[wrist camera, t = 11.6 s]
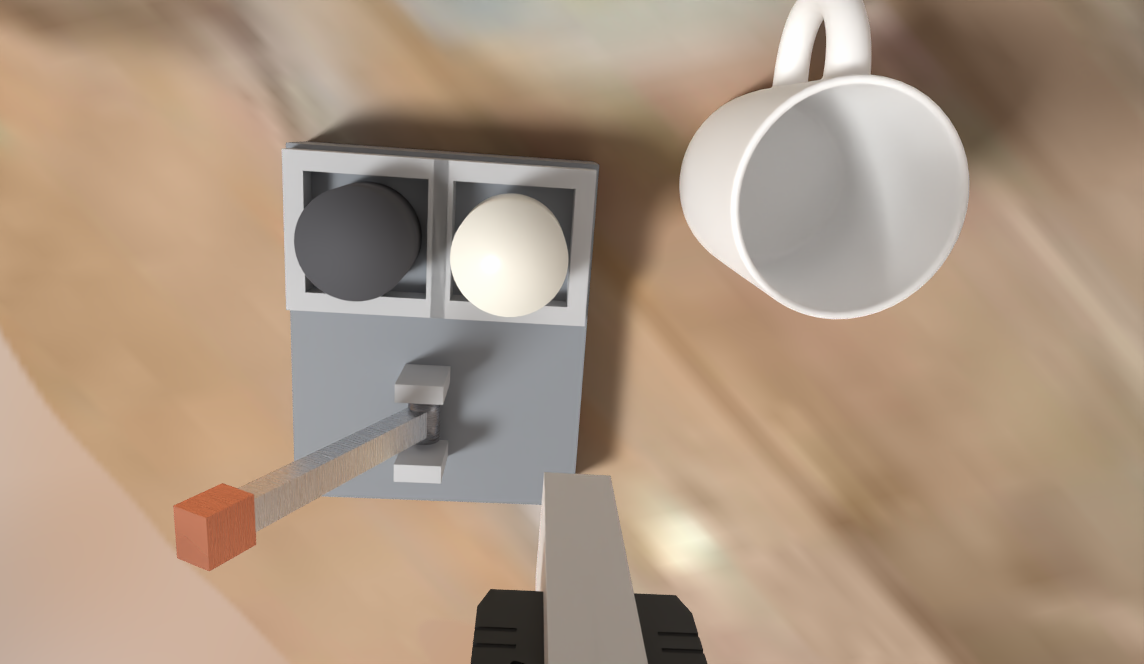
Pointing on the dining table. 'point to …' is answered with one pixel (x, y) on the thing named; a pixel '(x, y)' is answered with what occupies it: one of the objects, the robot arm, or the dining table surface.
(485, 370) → the panel
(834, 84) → the mug
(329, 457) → the lever
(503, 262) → the button ivory
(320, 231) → the button black
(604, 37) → the dining table surface
